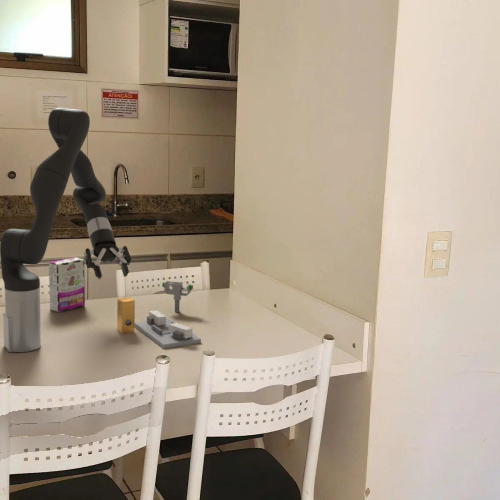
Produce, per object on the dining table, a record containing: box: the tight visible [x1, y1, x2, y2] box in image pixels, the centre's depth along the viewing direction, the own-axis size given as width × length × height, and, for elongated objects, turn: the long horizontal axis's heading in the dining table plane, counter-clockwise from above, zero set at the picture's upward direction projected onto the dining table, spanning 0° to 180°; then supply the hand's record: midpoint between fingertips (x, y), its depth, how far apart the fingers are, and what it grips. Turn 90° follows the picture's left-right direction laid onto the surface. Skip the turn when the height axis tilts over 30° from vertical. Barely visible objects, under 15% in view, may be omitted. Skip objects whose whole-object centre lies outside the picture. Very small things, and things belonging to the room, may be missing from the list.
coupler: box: [116, 296, 136, 335], centre depth 206 cm, size 4×5×10 cm
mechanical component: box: [161, 280, 194, 313], centre depth 227 cm, size 3×10×10 cm, turn 78°
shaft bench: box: [134, 310, 202, 349], centre depth 205 cm, size 12×22×4 cm, turn 32°
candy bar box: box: [48, 256, 86, 313], centre depth 225 cm, size 11×5×16 cm, turn 143°
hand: (113, 276), depth 213 cm, fingers open, 8 cm apart
